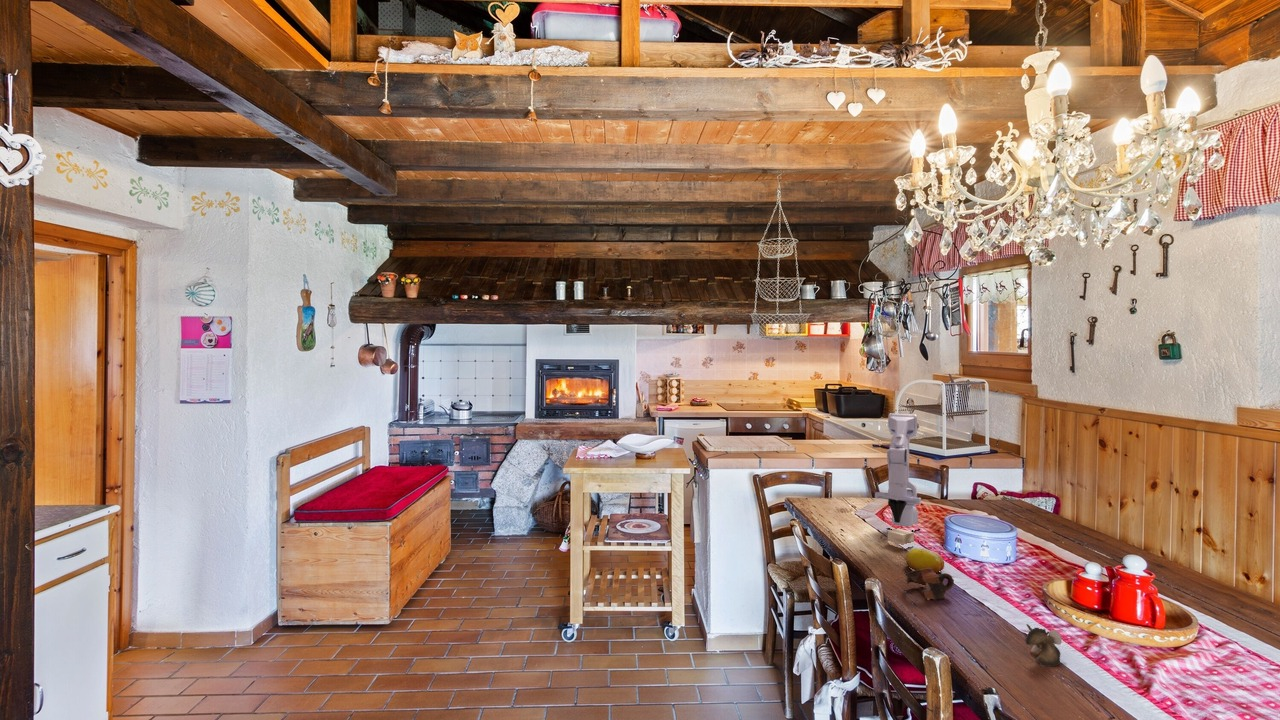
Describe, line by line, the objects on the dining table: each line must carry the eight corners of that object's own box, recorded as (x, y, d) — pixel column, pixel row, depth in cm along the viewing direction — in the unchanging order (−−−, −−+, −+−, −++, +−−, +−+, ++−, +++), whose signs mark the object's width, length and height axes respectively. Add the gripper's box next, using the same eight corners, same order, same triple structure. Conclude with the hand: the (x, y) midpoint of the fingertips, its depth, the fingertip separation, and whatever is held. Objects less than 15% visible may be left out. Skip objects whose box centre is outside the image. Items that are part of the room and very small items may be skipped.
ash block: (898, 542, 206) (898, 528, 206) (913, 546, 201) (913, 532, 201) (887, 545, 203) (887, 530, 203) (903, 549, 198) (903, 535, 198)
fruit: (954, 575, 173) (946, 550, 173) (920, 585, 174) (912, 560, 173) (935, 561, 185) (928, 537, 184) (903, 570, 185) (896, 547, 185)
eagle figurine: (1015, 636, 134) (1015, 645, 127) (1035, 613, 133) (1037, 621, 125) (1048, 663, 130) (1051, 674, 123) (1070, 640, 129) (1074, 650, 121)
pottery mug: (916, 603, 156) (905, 571, 160) (911, 605, 164) (900, 575, 168) (963, 594, 154) (950, 562, 158) (955, 597, 163) (943, 567, 166)
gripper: (872, 481, 201) (872, 520, 201) (917, 487, 192) (917, 528, 192) (878, 478, 207) (878, 516, 207) (922, 483, 198) (922, 523, 198)
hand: (897, 521), depth 200 cm, fingers closed
